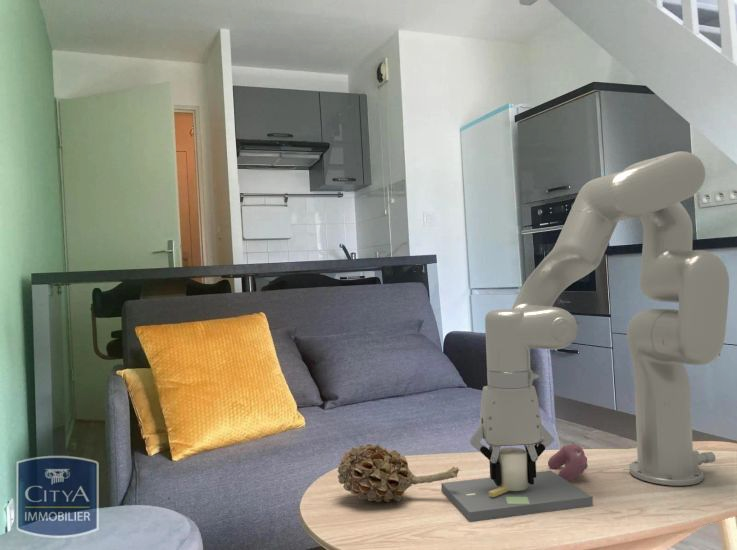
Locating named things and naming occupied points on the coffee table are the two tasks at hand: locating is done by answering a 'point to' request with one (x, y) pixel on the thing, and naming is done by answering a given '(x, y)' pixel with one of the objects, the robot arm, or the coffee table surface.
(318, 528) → the coffee table surface
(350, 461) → the pine cone
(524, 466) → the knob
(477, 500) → the dial board
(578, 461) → the video game controller
